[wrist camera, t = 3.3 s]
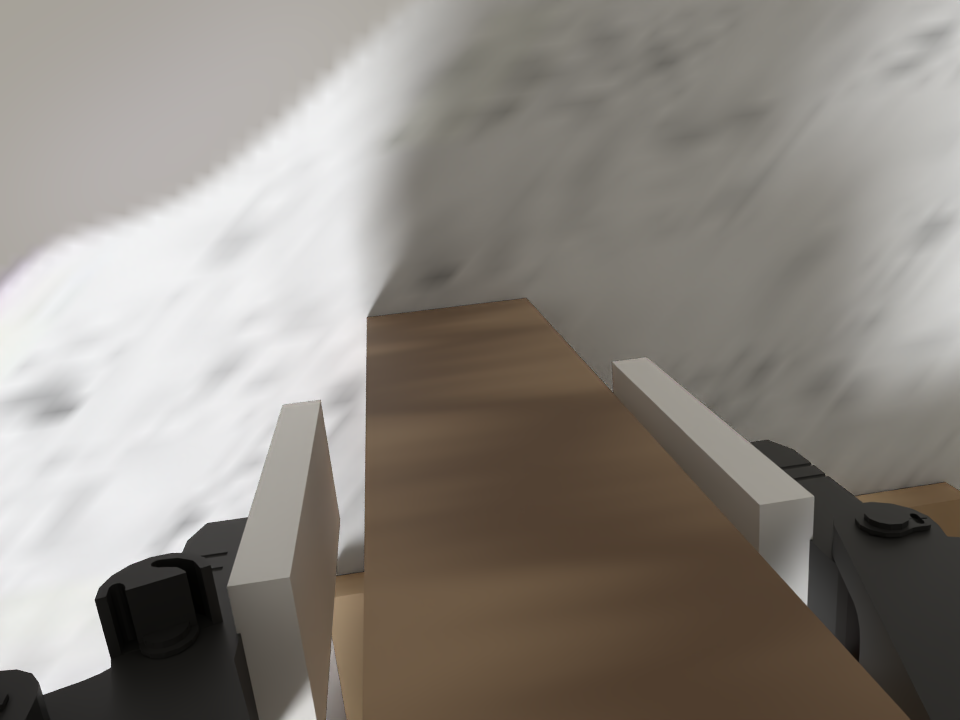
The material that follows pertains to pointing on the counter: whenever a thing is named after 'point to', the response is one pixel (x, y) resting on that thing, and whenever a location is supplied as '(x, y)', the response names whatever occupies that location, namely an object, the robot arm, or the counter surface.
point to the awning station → (937, 501)
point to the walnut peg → (560, 550)
